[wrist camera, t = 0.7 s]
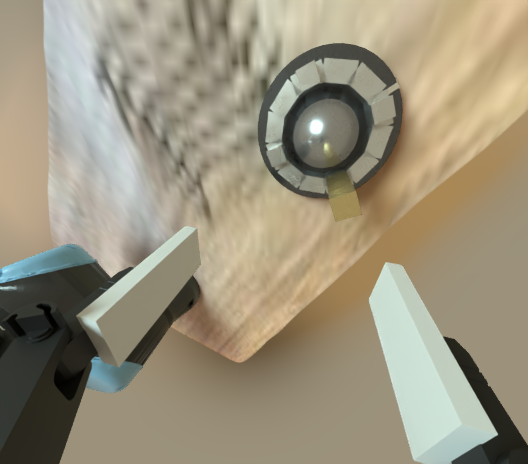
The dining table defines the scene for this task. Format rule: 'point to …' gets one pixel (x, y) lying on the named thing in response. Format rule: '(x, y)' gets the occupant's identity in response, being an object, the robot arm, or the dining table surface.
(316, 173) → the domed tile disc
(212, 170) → the dining table surface
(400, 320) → the robot arm
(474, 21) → the dining table surface
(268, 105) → the housing
